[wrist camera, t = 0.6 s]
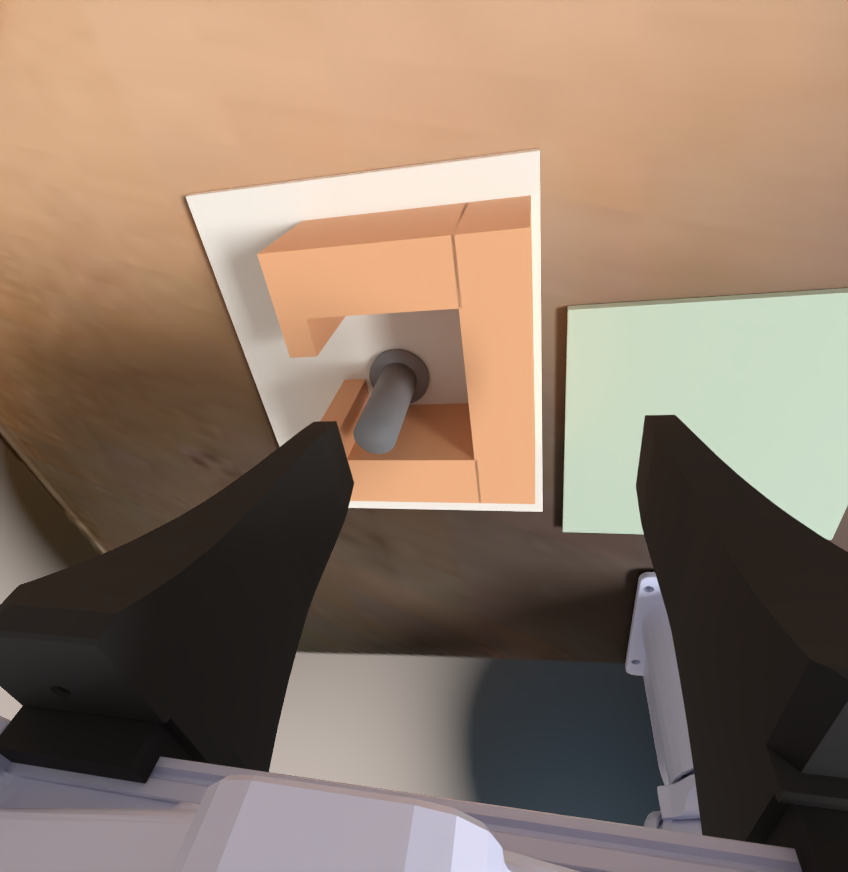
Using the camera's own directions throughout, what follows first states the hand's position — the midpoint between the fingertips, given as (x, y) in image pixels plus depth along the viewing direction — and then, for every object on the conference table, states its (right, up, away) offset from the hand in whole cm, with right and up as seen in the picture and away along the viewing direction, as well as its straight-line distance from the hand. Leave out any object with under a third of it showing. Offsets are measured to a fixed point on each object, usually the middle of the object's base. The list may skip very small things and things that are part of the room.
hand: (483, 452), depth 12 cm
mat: (+11, +1, +10) cm, 14 cm away
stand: (-2, +3, +10) cm, 11 cm away
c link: (-1, +4, +9) cm, 10 cm away
